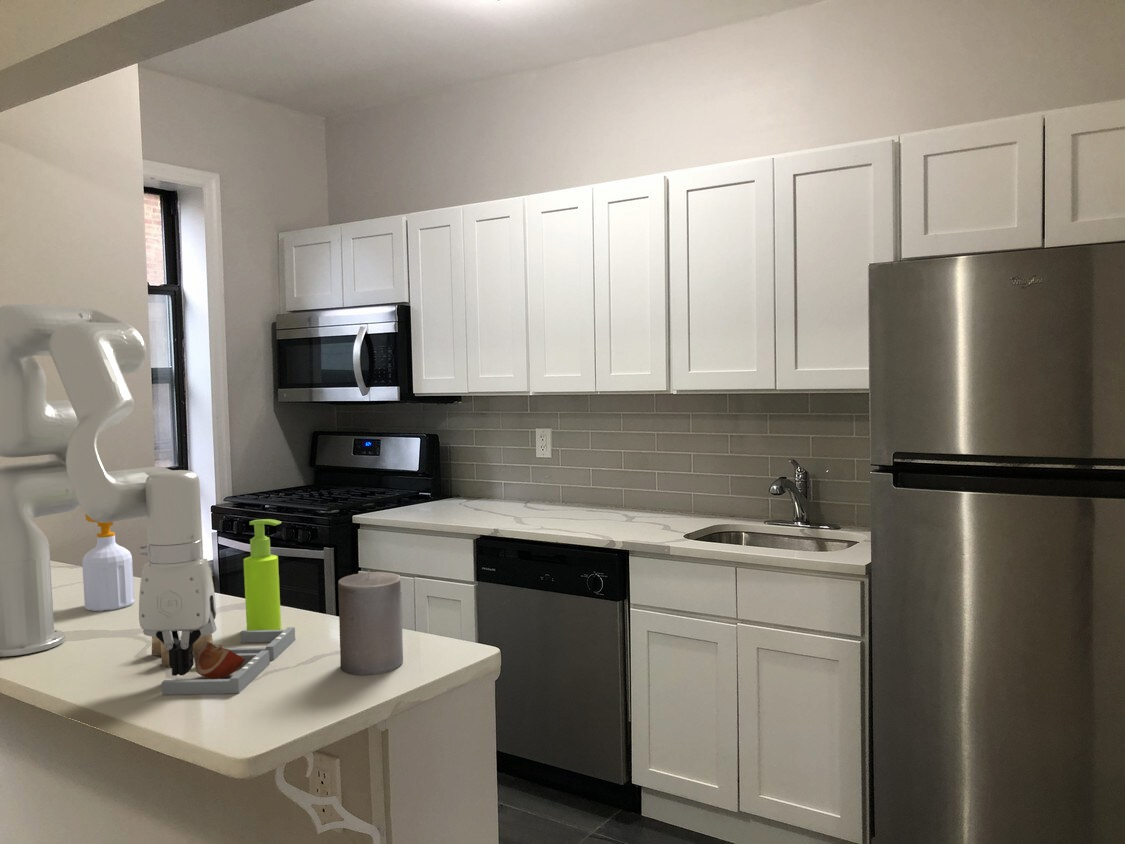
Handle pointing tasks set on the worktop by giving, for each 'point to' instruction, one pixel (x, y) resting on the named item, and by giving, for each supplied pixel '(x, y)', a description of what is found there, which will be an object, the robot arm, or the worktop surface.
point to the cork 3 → (201, 643)
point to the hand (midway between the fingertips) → (182, 672)
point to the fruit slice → (216, 661)
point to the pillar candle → (370, 623)
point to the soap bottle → (107, 573)
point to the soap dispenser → (262, 581)
